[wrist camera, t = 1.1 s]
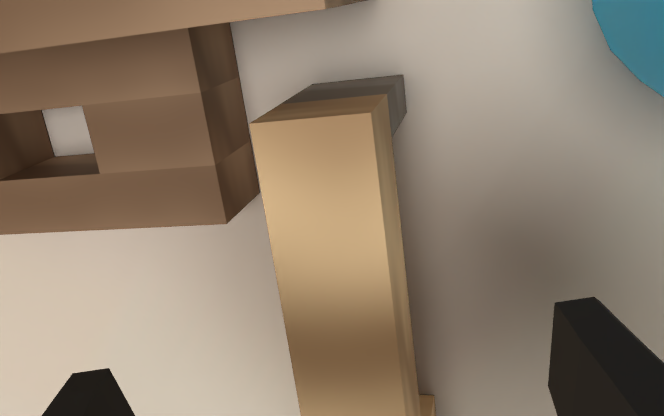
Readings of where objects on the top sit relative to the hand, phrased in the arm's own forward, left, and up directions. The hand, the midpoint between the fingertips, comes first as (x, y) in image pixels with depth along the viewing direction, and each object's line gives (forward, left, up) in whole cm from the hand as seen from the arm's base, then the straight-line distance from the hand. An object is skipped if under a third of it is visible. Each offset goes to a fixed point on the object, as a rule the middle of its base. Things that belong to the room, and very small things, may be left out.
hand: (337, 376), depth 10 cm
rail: (-4, +2, -12) cm, 12 cm away
